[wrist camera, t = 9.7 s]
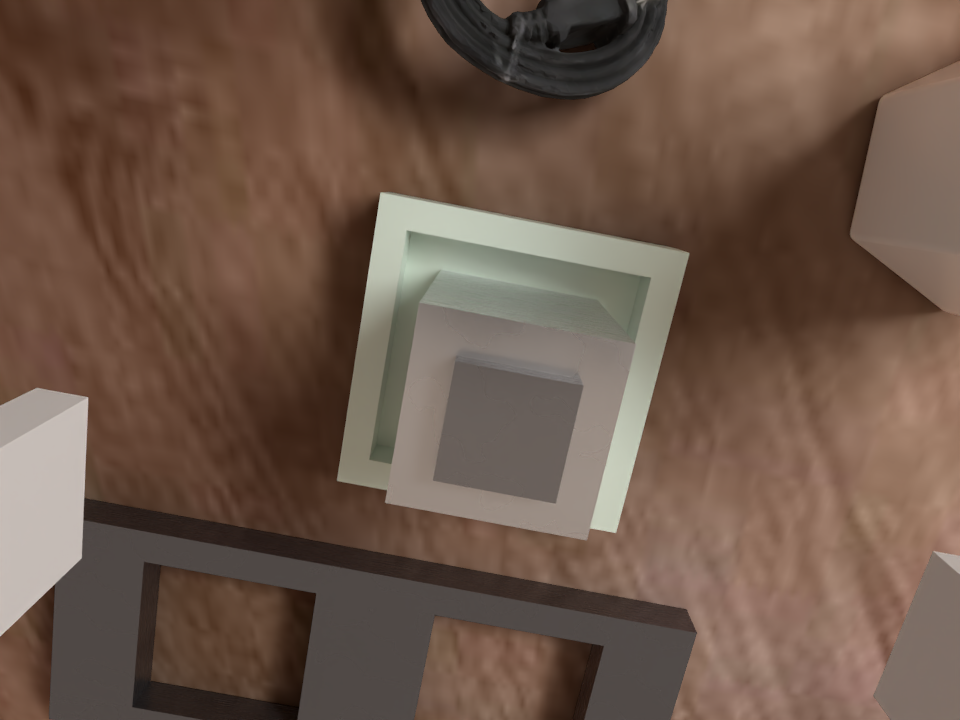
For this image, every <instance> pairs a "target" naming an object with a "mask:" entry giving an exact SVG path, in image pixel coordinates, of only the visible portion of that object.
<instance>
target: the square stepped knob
mask: <svg viewBox="0 0 960 720" xmlns="http://www.w3.org/2000/svg"><path fill="white" fill-rule="evenodd" d="M635 347H636V343H635V342H634V341H633V340H632V339H631V338H630V336H629V335H628V334H627V333H626V332H625V331H624V330H623V328H622V327H621V326H620V325H619V324H618V323H617V322H616V320H615V319H614V318H613V317H612V316H611V315H610V314H609V312H608V311H607V310H606V309H605V308H604V307H603V306H602V304H601V303H600V302H599V301H598V300H596V299H591V298H585V297H580V296H575V295H570V294H565V293H560V292H554V291H549V290H544V289H539V288H534V287H529V286H523V285H518V284H513V283H508V282H503V281H498V280H492V279H487V278H482V277H477V276H472V275H467V274H461V273H456V272H451V271H446V270H441V271H440V272H439V274H438V275H437V277H436V278H435V280H434V281H433V283H432V284H431V286H430V287H429V289H428V290H427V292H426V293H425V295H424V296H423V298H422V299H421V301H420V302H419V307H418V313H417V319H416V325H415V330H414V336H413V342H412V348H411V354H410V360H409V366H408V371H407V377H406V383H405V389H404V395H403V401H402V406H401V412H400V418H399V424H398V430H397V436H396V442H395V447H394V453H393V459H392V465H391V471H390V477H389V482H388V488H387V494H386V500H385V503H388V504H394V505H399V506H405V507H410V508H415V509H421V510H426V511H432V512H437V513H442V514H448V515H453V516H458V517H464V518H469V519H475V520H480V521H485V522H491V523H496V524H501V525H507V526H512V527H518V528H523V529H528V530H534V531H539V532H544V533H550V534H555V535H561V536H566V537H571V538H577V539H582V540H587V538H588V534H589V530H590V526H591V522H592V518H593V514H594V510H595V506H596V502H597V498H598V494H599V490H600V486H601V482H602V478H603V474H604V470H605V466H606V462H607V458H608V454H609V450H610V446H611V442H612V438H613V434H614V430H615V427H616V423H617V419H618V415H619V411H620V407H621V403H622V399H623V395H624V391H625V387H626V383H627V379H628V375H629V371H630V367H631V363H632V359H633V355H634V351H635Z"/></svg>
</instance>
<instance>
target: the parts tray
mask: <svg viewBox="0 0 960 720" xmlns="http://www.w3.org/2000/svg"><path fill="white" fill-rule="evenodd" d="M688 257H689V253H688V252H685V251H682V250H679V249H677V248H673V247H668V246H663V245H658V244H653V243H648V242H643V241H638V240H633V239H627V238H622V237H617V236H612V235H607V234H602V233H597V232H592V231H587V230H582V229H576V228H571V227H566V226H561V225H556V224H551V223H546V222H541V221H536V220H531V219H525V218H520V217H515V216H510V215H505V214H500V213H495V212H490V211H485V210H479V209H474V208H469V207H464V206H459V205H454V204H449V203H444V202H439V201H434V200H428V199H423V198H418V197H413V196H408V195H403V194H398V193H393V192H381V193H380V199H379V206H378V213H377V219H376V226H375V232H374V239H373V246H372V252H371V259H370V265H369V272H368V279H367V285H366V292H365V298H364V305H363V312H362V318H361V325H360V331H359V338H358V345H357V351H356V358H355V364H354V371H353V378H352V384H351V391H350V397H349V404H348V411H347V417H346V424H345V430H344V437H343V443H342V450H341V457H340V463H339V470H338V476H337V481H340V482H345V483H351V484H356V485H361V486H367V487H372V488H377V489H383V490H387V488H388V482H389V477H390V471H391V465H392V459H393V453H394V447H395V442H396V436H397V430H398V424H399V418H400V412H401V406H402V401H403V395H404V389H405V383H406V377H407V371H408V366H409V360H410V354H411V348H412V342H413V336H414V330H415V325H416V319H417V313H418V307H419V302H420V301H421V299H422V298H423V296H424V295H425V293H426V292H427V290H428V289H429V287H430V286H431V284H432V283H433V281H434V280H435V278H436V277H437V275H438V274H439V272H440V271H441V270H446V271H451V272H456V273H461V274H467V275H472V276H477V277H482V278H487V279H492V280H498V281H503V282H508V283H513V284H518V285H523V286H529V287H534V288H539V289H544V290H549V291H554V292H560V293H565V294H570V295H575V296H580V297H585V298H591V299H596V300H598V301H599V302H600V303H601V304H602V306H603V307H604V308H605V309H606V310H607V311H608V312H609V314H610V315H611V316H612V317H613V318H614V319H615V320H616V322H617V323H618V324H619V325H620V326H621V327H622V328H623V330H624V331H625V332H626V333H627V334H628V335H629V336H630V338H631V339H632V340H633V341H634V342H635V343H636V347H635V351H634V355H633V359H632V363H631V367H630V371H629V375H628V379H627V383H626V387H625V391H624V395H623V399H622V403H621V407H620V411H619V415H618V419H617V423H616V427H615V430H614V434H613V438H612V442H611V446H610V450H609V454H608V458H607V462H606V466H605V470H604V474H603V478H602V482H601V486H600V490H599V494H598V498H597V502H596V506H595V510H594V514H593V518H592V522H591V526H590V528H592V529H597V530H603V531H608V532H613V533H616V531H617V527H618V524H619V520H620V516H621V512H622V508H623V505H624V501H625V497H626V493H627V489H628V486H629V482H630V478H631V474H632V470H633V467H634V463H635V459H636V455H637V451H638V448H639V444H640V440H641V436H642V432H643V429H644V425H645V421H646V417H647V413H648V409H649V406H650V402H651V398H652V394H653V390H654V387H655V383H656V379H657V375H658V371H659V368H660V364H661V360H662V356H663V352H664V349H665V345H666V341H667V337H668V333H669V330H670V326H671V322H672V318H673V314H674V311H675V307H676V303H677V299H678V295H679V291H680V288H681V284H682V280H683V276H684V272H685V269H686V265H687V261H688Z"/></svg>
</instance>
